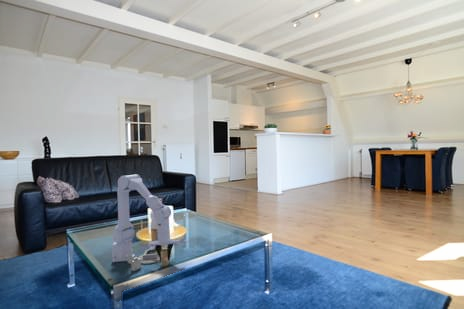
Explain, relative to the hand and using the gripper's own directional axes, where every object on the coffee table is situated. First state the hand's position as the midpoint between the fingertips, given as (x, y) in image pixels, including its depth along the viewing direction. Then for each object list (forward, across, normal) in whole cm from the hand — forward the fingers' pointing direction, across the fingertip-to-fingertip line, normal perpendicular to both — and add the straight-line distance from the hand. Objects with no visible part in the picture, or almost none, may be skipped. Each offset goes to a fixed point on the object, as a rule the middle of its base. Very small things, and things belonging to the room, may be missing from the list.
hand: (165, 260), depth 134 cm
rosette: (+2, -8, +9) cm, 12 cm away
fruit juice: (+2, -6, +26) cm, 27 cm away
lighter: (+2, -14, -4) cm, 15 cm away
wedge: (+2, 0, 0) cm, 2 cm away
